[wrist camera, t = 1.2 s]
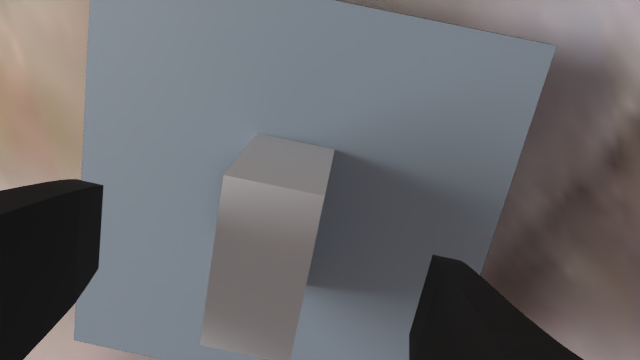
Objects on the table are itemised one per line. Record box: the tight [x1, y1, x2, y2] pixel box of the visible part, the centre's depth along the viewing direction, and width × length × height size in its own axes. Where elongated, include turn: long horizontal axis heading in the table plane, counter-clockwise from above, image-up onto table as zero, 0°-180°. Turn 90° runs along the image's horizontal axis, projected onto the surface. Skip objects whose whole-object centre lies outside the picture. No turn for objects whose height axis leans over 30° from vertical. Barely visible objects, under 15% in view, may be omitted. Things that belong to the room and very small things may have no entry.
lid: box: [74, 0, 556, 360], centre depth 13 cm, size 11×11×4 cm
